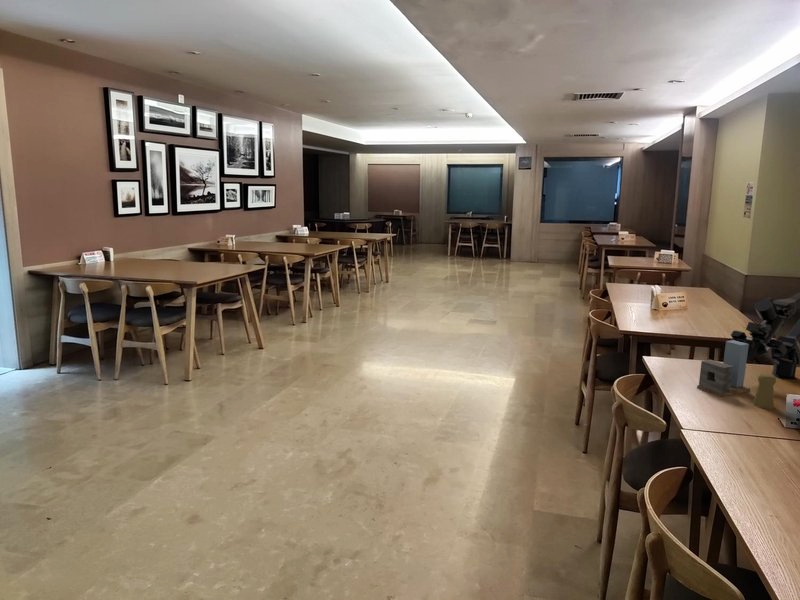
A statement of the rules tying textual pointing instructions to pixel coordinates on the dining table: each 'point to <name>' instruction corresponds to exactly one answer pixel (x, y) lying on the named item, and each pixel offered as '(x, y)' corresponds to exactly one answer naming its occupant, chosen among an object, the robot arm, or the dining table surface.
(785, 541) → the dining table surface
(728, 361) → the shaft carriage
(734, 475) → the dining table surface
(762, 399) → the olive flared post
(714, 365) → the bearing stand
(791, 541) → the dining table surface
